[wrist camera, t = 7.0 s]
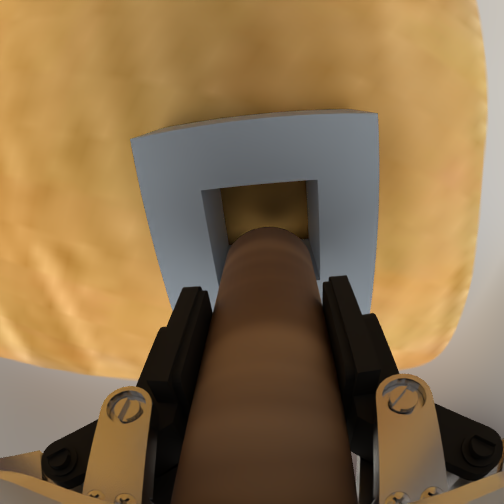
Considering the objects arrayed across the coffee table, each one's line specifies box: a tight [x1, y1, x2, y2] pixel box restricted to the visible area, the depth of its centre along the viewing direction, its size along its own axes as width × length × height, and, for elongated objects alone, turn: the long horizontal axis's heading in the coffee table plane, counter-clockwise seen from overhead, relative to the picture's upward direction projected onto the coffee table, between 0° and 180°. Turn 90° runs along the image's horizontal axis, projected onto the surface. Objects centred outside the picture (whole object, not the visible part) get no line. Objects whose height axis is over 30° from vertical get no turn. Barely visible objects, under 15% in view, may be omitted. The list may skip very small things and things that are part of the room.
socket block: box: [130, 109, 379, 314], centre depth 17 cm, size 11×11×5 cm
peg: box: [170, 227, 358, 504], centre depth 8 cm, size 4×4×12 cm
